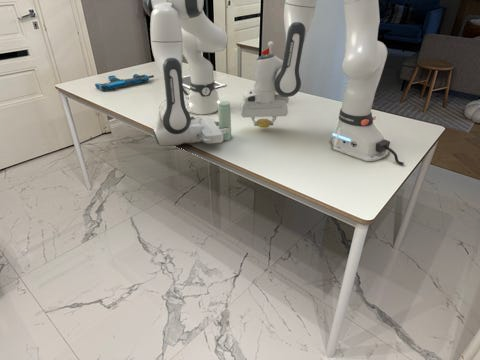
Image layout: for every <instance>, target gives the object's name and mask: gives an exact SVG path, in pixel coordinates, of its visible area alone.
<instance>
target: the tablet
mask: <svg viewBox="0 0 480 360" xmlns="http://www.w3.org/2000/svg"><path fill="white" fill-rule="evenodd" d="M214 81H215V89H219V88H223V87H226V86H227V85H226V84H225V83H222V82H219V81H217V80H214ZM182 82H183V88H186V89H189V90H190V82H191V77H190V74H188V75H182Z"/></svg>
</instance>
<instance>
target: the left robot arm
mask: <svg viewBox="0 0 480 360" xmlns="http://www.w3.org/2000/svg"><path fill="white" fill-rule="evenodd" d="M204 1H205V0H141V2H142V7H143V10H144V11H145V13H146V14H147V15H148V16H149V17H150V23H149V25H150V27H149V31H150V32H149V33H150V34H149V35H150V46H151V51H152V56H153V60H154V62H155V64H156V66H157V68H158V70H159V71H160V74H161V76H162V78H163V79H162V80H163V84H164V93H165V100H163V101H162V102H161V103H160V105H159V107H158V114H157V119H156V123H155V125H154V126H153V128H152V132H153V133H152V134H153V135H154V138H155V141H156V143H157V145H159V146H160V147H174V146H181V145H182V144H183V145H184V144H193V143H200V142H203V143H205V144H220V143H222V142H223V141H224V140H223V134H225V133H227V132H230V128H229V127H225V128H224V129H219V120H213V118H212V117H211V116H210V115H211V114H213V113H216V112H217V111H218V106H219V102H221V101H220V100H219V99H220V97H219V93H218V91H217V90H216V88H215V81H216V80H215V79H214V75H215V74H214V66H213V64H212V62H211V61H210V60H208V59H207V58H205V57H204V56H203V54H202V53H219V52H223V51H224V50H225V49H226V48H227V46H228V41H229V37H228V33H227V32H226V30H225V29H224V28H223V27H220V26H218V25H216V23H214V22H212V21H211V20H210V18H208V16H207V15H206V14H205V12H204ZM183 59H185V60H186V62H187V64H188V69H189V75H190V77H191V82H190V89H189V91H188V93H187V91H186V89H185V87H184V86H183V82H182V77H183ZM190 113H191V114H196V115H197V116H192V115H191V114H190ZM198 115H199V116H198Z"/></svg>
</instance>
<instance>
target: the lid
mask: <svg viewBox="0 0 480 360" xmlns="http://www.w3.org/2000/svg"><path fill="white" fill-rule="evenodd" d="M256 121H257V126H256V127H259V128H269V127H271V126H270V121H271V120H270V119H269V118H259V119H257V120H256Z"/></svg>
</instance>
